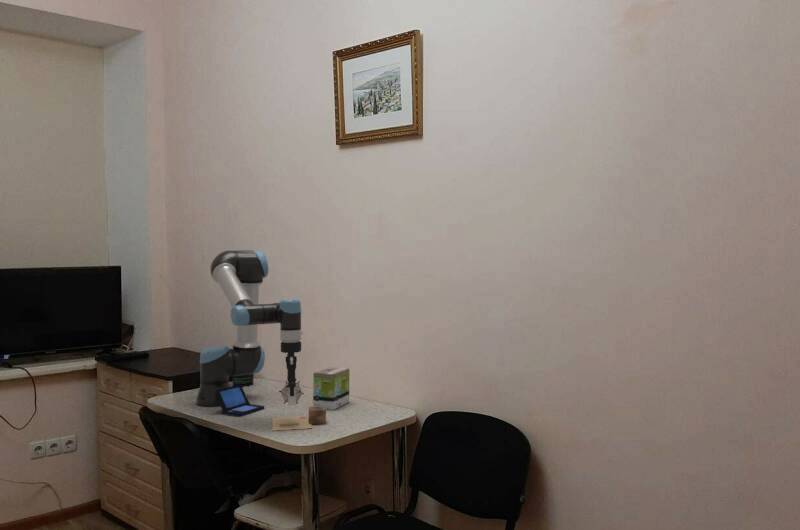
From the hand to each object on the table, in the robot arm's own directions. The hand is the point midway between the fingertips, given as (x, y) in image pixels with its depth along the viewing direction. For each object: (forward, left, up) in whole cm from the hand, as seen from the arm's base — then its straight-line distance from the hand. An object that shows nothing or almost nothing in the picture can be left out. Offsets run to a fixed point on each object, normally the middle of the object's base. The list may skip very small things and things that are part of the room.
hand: (291, 401), depth 242 cm
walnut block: (+9, 0, -8) cm, 12 cm away
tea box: (+17, +26, -8) cm, 32 cm away
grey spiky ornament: (0, 0, -1) cm, 1 cm away
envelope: (0, 0, -8) cm, 8 cm away
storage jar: (-21, +78, -8) cm, 81 cm away
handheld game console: (-20, +25, -9) cm, 33 cm away
